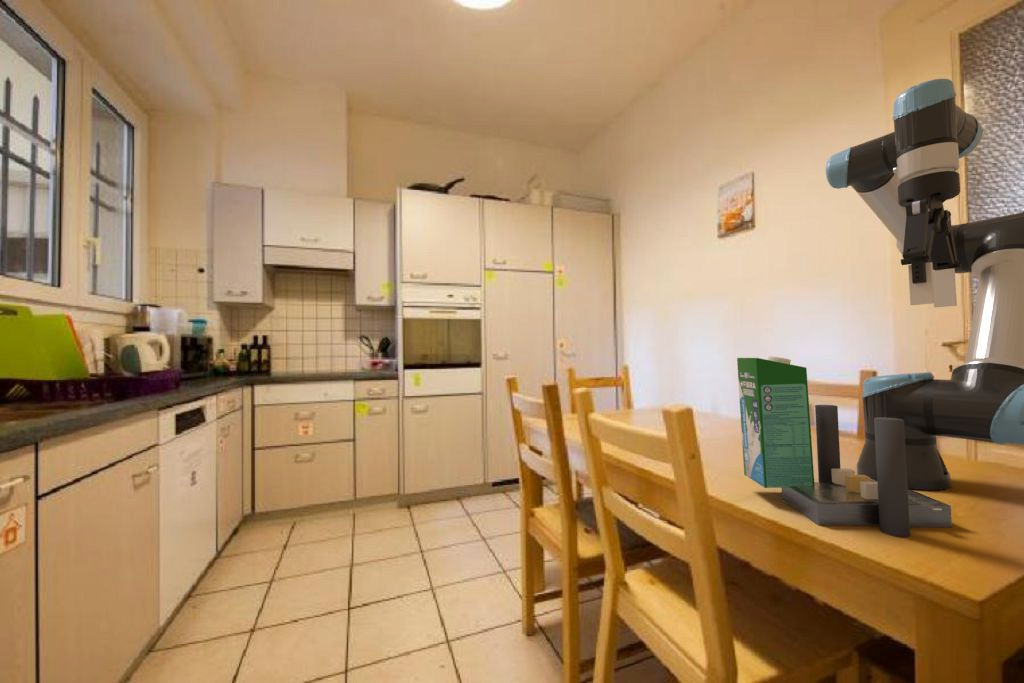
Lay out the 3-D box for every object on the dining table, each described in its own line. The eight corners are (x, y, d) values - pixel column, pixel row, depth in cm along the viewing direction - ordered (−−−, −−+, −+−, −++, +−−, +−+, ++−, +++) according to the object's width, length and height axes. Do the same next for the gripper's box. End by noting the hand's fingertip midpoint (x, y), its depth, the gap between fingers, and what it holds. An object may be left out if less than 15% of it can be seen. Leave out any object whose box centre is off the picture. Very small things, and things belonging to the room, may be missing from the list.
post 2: (898, 527, 69) (892, 417, 70) (916, 537, 66) (910, 420, 66) (874, 527, 70) (868, 417, 70) (890, 537, 66) (884, 421, 67)
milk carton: (815, 487, 80) (806, 355, 81) (764, 488, 81) (756, 357, 82) (789, 474, 89) (781, 355, 90) (743, 475, 90) (736, 357, 91)
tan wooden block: (865, 488, 77) (864, 474, 77) (870, 491, 75) (869, 477, 75) (845, 488, 77) (844, 474, 77) (850, 491, 76) (850, 477, 76)
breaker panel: (887, 497, 83) (886, 478, 83) (963, 532, 67) (962, 508, 67) (777, 496, 85) (776, 477, 85) (825, 530, 69) (824, 507, 69)
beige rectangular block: (881, 496, 73) (880, 481, 73) (887, 499, 71) (886, 484, 71) (860, 496, 73) (860, 481, 73) (866, 499, 72) (865, 484, 72)
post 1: (834, 493, 86) (830, 404, 86) (846, 500, 82) (841, 406, 83) (815, 493, 86) (811, 404, 87) (826, 499, 83) (821, 407, 83)
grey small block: (850, 482, 81) (849, 468, 81) (855, 484, 79) (854, 470, 79) (832, 481, 81) (831, 468, 81) (836, 484, 80) (835, 470, 80)
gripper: (920, 197, 82) (926, 309, 81) (872, 172, 69) (879, 305, 68) (977, 183, 75) (984, 305, 75) (935, 153, 63) (944, 300, 62)
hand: (934, 305), depth 72 cm, fingers open, 12 cm apart
